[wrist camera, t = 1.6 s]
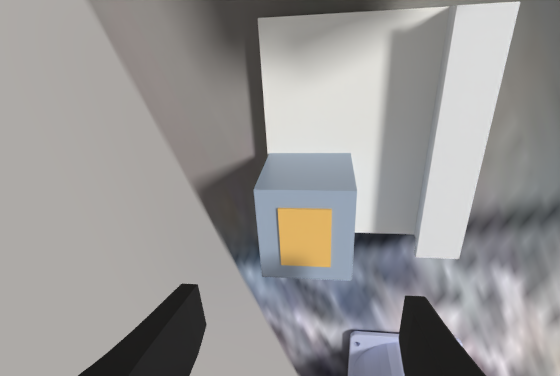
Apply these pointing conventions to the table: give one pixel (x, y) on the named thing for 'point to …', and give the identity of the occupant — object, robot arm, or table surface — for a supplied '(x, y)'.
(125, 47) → the table surface
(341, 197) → the block
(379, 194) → the rail board
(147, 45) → the table surface
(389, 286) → the table surface
